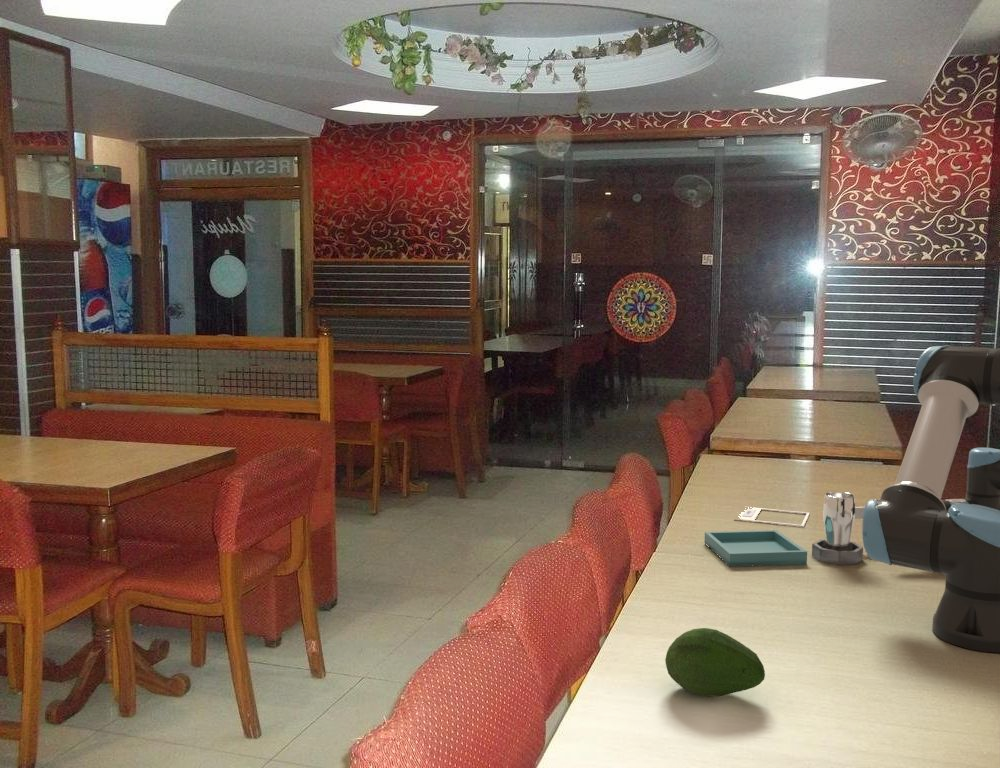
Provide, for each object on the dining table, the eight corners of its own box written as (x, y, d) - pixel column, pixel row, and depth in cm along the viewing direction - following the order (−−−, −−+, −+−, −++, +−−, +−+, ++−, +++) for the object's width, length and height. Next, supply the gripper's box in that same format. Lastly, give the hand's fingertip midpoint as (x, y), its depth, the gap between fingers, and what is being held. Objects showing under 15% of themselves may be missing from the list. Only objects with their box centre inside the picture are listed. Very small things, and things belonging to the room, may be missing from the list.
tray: (806, 564, 211) (807, 551, 211) (729, 566, 209) (729, 553, 209) (775, 542, 229) (776, 530, 228) (704, 544, 227) (704, 532, 227)
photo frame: (742, 505, 262) (809, 512, 255) (742, 509, 262) (809, 516, 255) (733, 517, 249) (803, 525, 242) (733, 521, 249) (803, 529, 242)
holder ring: (869, 564, 211) (869, 551, 211) (825, 565, 210) (825, 552, 210) (848, 551, 221) (848, 538, 221) (806, 552, 220) (806, 539, 220)
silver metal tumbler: (818, 560, 214) (821, 496, 213) (823, 552, 220) (826, 490, 219) (850, 564, 211) (853, 499, 209) (854, 556, 217) (857, 493, 215)
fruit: (768, 690, 147) (770, 629, 146) (757, 716, 138) (760, 652, 137) (674, 672, 153) (675, 614, 152) (658, 697, 144) (659, 635, 143)
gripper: (983, 545, 209) (899, 551, 205) (912, 517, 234) (835, 522, 229) (985, 513, 208) (901, 518, 204) (913, 488, 233) (837, 492, 228)
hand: (866, 520), depth 217 cm, fingers open, 13 cm apart
